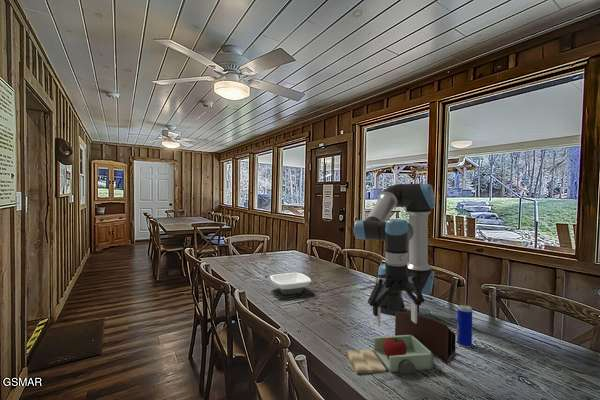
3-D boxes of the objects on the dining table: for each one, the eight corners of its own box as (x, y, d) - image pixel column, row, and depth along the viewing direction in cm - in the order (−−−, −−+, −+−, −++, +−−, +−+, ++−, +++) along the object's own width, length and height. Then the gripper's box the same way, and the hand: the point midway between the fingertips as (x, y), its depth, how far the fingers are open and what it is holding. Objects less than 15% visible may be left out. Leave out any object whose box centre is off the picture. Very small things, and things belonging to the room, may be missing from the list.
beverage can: (458, 340, 122) (459, 303, 122) (472, 344, 119) (473, 306, 119) (455, 344, 118) (456, 307, 118) (470, 349, 115) (471, 310, 115)
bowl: (314, 295, 176) (314, 281, 175) (277, 300, 167) (277, 285, 167) (300, 284, 196) (300, 271, 196) (266, 288, 188) (266, 275, 187)
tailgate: (373, 352, 111) (345, 353, 110) (373, 349, 111) (345, 350, 109) (388, 373, 99) (357, 373, 97) (389, 369, 99) (357, 370, 97)
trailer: (371, 350, 114) (371, 334, 114) (408, 347, 116) (409, 332, 116) (393, 379, 96) (393, 360, 96) (436, 375, 98) (436, 357, 98)
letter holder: (447, 363, 105) (447, 324, 105) (394, 344, 119) (394, 309, 119) (455, 352, 113) (456, 315, 112) (404, 335, 126) (405, 302, 126)
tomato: (405, 353, 108) (406, 334, 108) (407, 366, 101) (407, 344, 101) (383, 350, 111) (383, 331, 110) (383, 362, 103) (383, 341, 103)
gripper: (366, 268, 99) (366, 330, 100) (435, 264, 103) (434, 325, 104) (358, 262, 107) (358, 321, 108) (423, 259, 111) (422, 316, 111)
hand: (396, 323), depth 106 cm, fingers open, 13 cm apart
